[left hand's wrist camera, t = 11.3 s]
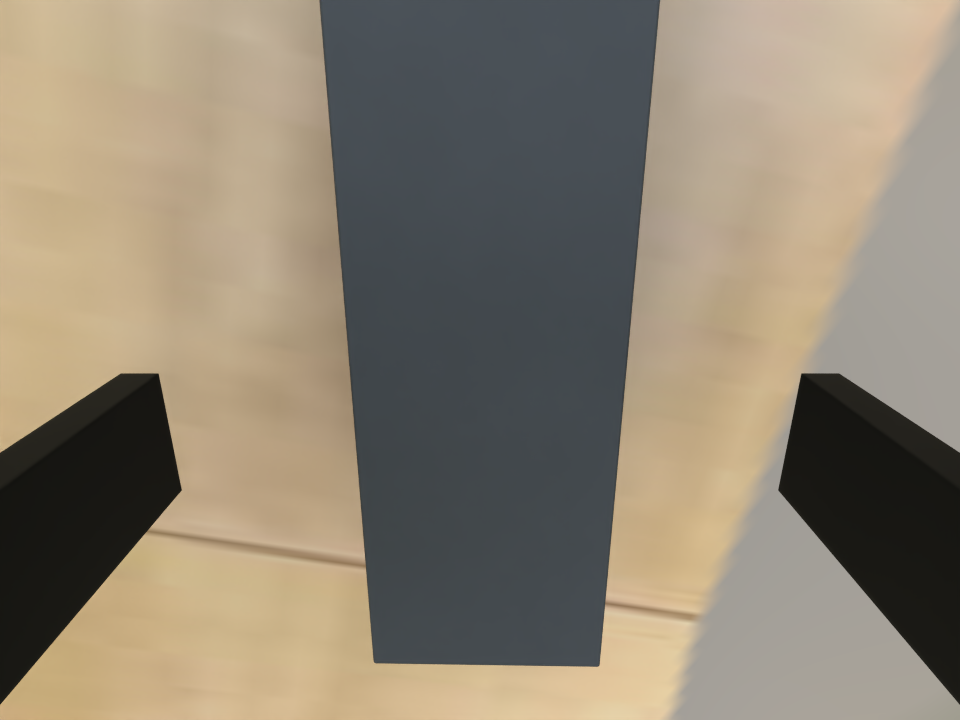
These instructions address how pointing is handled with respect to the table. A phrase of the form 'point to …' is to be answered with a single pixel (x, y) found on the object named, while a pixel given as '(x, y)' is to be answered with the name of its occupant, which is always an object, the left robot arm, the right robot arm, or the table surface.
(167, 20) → the table surface
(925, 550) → the left robot arm
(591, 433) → the bar
